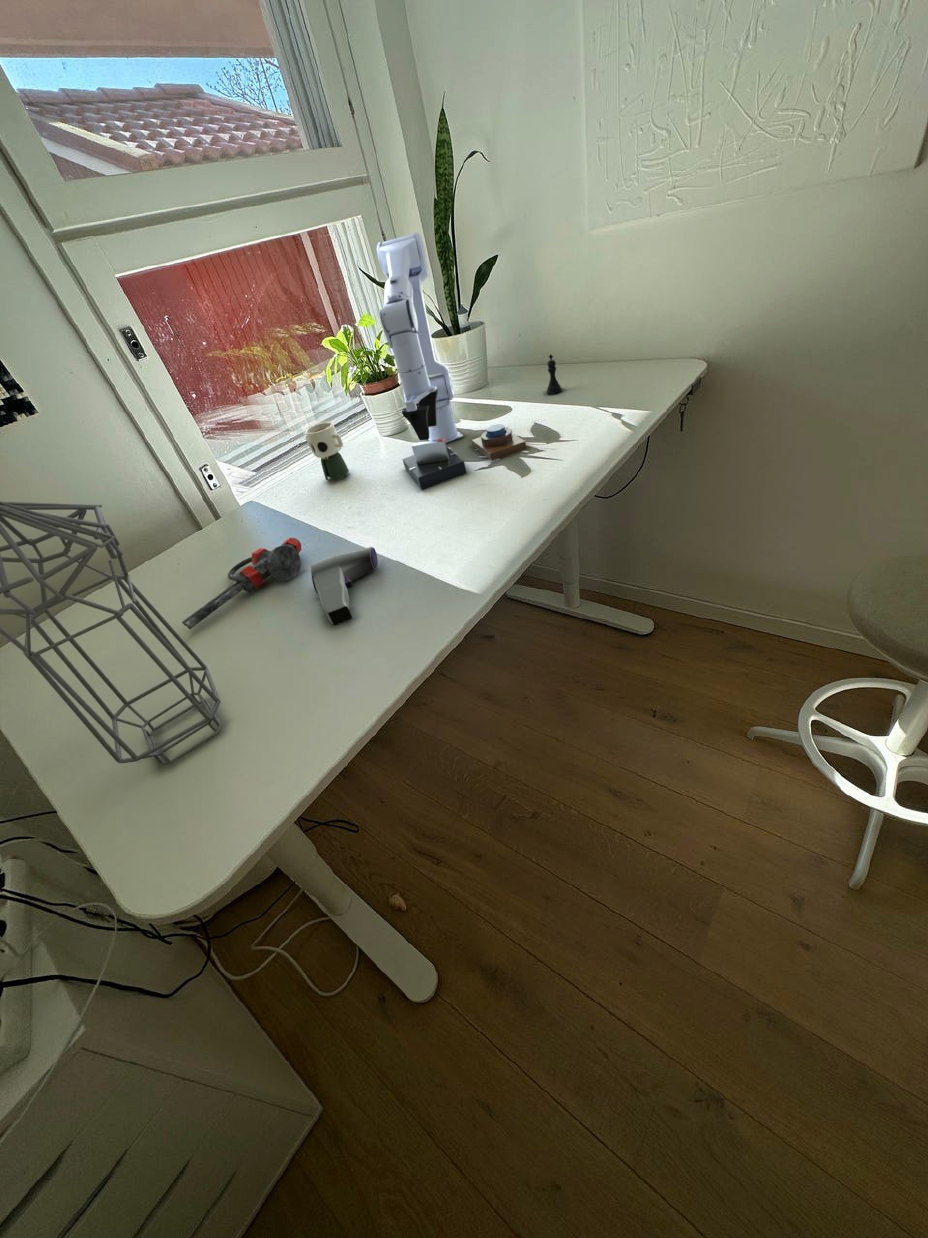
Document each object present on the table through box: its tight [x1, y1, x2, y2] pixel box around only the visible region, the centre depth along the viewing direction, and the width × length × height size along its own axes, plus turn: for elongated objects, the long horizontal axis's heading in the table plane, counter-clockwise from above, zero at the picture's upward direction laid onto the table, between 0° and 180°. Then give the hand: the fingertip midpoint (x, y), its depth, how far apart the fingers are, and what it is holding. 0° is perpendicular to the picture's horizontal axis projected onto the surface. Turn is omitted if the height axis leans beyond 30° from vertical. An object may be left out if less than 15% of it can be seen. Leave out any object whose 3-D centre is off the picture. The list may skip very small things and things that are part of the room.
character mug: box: [304, 421, 350, 482], centre depth 129 cm, size 11×7×13 cm, turn 64°
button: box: [485, 423, 506, 438], centre depth 123 cm, size 4×4×2 cm
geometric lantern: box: [0, 501, 223, 767], centre depth 61 cm, size 16×16×35 cm
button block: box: [471, 426, 527, 462], centre depth 124 cm, size 12×9×4 cm
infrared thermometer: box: [310, 546, 379, 626], centre depth 88 cm, size 5×12×15 cm
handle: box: [411, 438, 449, 465], centre depth 118 cm, size 8×2×5 cm, turn 81°
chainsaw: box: [181, 537, 303, 630], centre depth 98 cm, size 6×26×15 cm
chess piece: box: [546, 354, 563, 395], centre depth 145 cm, size 4×4×10 cm
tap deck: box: [402, 446, 468, 491], centre depth 121 cm, size 14×12×3 cm
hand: (428, 432), depth 116 cm, fingers open, 7 cm apart
